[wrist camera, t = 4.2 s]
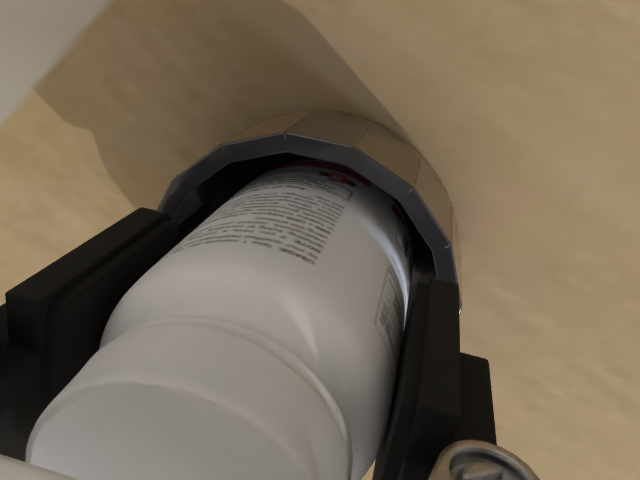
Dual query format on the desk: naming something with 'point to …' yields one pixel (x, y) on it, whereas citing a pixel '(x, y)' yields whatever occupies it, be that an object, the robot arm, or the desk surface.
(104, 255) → the robot arm
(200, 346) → the pill bottle
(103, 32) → the desk surface
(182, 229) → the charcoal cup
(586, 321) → the desk surface
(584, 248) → the desk surface
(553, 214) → the desk surface
